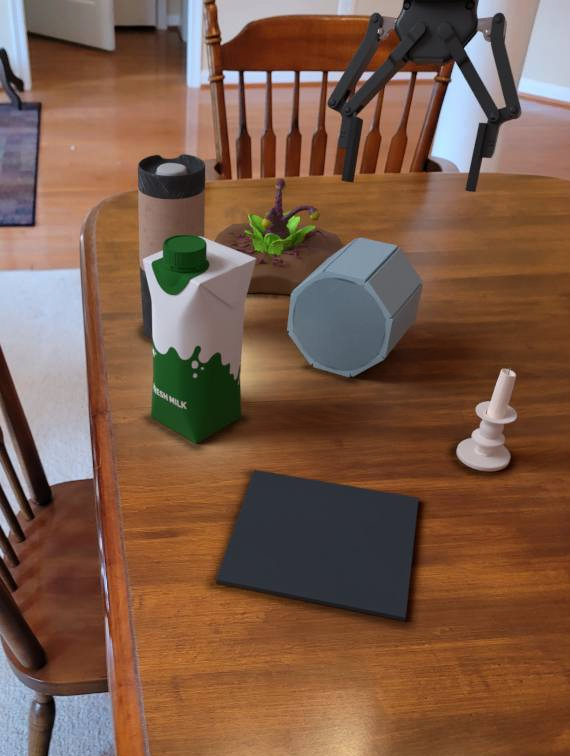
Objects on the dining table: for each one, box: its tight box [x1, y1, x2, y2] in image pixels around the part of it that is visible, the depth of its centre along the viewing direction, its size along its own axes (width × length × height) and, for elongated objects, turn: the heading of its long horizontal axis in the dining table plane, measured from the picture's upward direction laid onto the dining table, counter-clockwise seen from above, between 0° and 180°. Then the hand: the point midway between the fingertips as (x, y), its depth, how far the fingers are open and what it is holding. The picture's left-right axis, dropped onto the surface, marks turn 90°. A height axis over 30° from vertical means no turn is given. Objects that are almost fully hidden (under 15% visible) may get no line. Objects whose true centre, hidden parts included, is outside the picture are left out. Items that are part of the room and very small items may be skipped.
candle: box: [455, 366, 518, 472], centre depth 81 cm, size 5×5×10 cm
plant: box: [214, 178, 344, 296], centre depth 115 cm, size 20×20×11 cm
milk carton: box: [143, 235, 256, 444], centre depth 84 cm, size 9×9×20 cm
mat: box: [215, 469, 420, 622], centre depth 76 cm, size 16×16×1 cm
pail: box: [286, 237, 424, 378], centre depth 96 cm, size 10×12×12 cm
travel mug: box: [137, 153, 206, 340], centre depth 98 cm, size 8×8×20 cm
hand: (407, 186), depth 93 cm, fingers open, 13 cm apart
